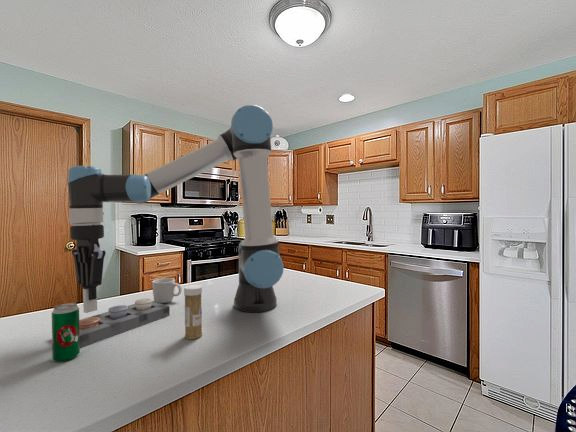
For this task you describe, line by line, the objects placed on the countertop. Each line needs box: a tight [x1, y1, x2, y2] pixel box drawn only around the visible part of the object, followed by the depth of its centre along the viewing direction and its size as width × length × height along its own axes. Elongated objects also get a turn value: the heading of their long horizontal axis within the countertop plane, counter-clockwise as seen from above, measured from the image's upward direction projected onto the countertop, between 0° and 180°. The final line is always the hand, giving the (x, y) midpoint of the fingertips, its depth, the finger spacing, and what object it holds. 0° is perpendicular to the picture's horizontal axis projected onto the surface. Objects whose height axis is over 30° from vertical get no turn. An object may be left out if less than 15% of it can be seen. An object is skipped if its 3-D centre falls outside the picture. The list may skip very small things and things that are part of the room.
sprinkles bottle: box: [183, 284, 203, 340], centre depth 78 cm, size 5×5×14 cm
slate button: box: [107, 304, 129, 320], centre depth 86 cm, size 5×5×3 cm
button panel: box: [80, 301, 170, 349], centre depth 86 cm, size 12×26×3 cm, turn 149°
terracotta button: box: [79, 316, 100, 330], centre depth 79 cm, size 5×5×3 cm
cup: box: [151, 277, 183, 304], centre depth 109 cm, size 11×8×8 cm
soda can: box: [51, 302, 81, 363], centre depth 67 cm, size 5×5×12 cm
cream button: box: [134, 297, 153, 311], centre depth 93 cm, size 5×5×3 cm
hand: (90, 311), depth 79 cm, fingers closed
